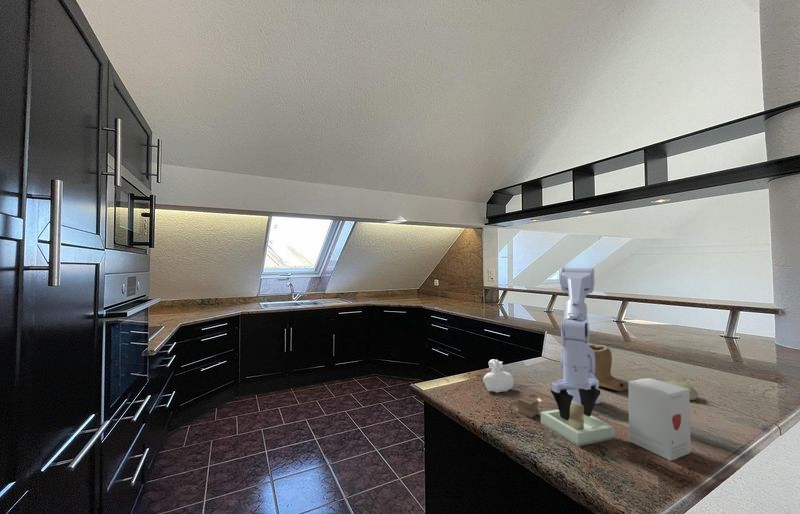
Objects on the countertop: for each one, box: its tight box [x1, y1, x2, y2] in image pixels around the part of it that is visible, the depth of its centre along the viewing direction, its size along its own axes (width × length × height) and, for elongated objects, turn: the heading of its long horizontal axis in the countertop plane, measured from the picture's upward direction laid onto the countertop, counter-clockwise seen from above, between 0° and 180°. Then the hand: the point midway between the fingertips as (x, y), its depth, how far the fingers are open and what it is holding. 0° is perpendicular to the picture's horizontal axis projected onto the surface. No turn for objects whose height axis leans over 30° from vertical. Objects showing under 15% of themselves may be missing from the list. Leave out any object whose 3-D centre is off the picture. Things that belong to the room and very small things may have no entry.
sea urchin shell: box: [665, 380, 699, 401], centre depth 107 cm, size 9×8×8 cm
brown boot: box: [587, 344, 629, 392], centre depth 116 cm, size 15×12×15 cm
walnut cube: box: [517, 395, 539, 419], centre depth 91 cm, size 4×4×4 cm
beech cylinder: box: [566, 402, 584, 430], centre depth 82 cm, size 4×4×6 cm
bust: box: [483, 358, 514, 393], centre depth 111 cm, size 12×8×11 cm
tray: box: [540, 409, 615, 447], centre depth 82 cm, size 12×12×3 cm
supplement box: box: [628, 377, 692, 461], centre depth 75 cm, size 9×9×15 cm
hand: (575, 416), depth 82 cm, fingers open, 7 cm apart
